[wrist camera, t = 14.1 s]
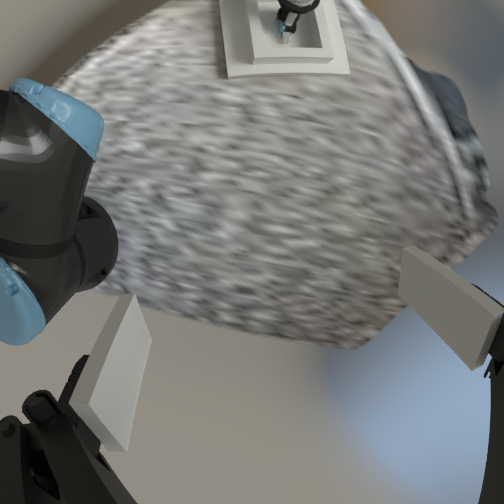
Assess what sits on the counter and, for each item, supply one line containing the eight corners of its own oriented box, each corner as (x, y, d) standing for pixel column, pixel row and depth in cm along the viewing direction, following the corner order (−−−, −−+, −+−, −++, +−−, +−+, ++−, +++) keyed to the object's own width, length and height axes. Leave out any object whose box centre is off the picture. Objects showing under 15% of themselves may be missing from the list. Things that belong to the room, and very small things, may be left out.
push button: (302, 47, 33) (324, 19, 24) (265, 43, 33) (278, 12, 23) (301, 12, 31) (321, -19, 22) (266, 8, 31) (278, -27, 21)
